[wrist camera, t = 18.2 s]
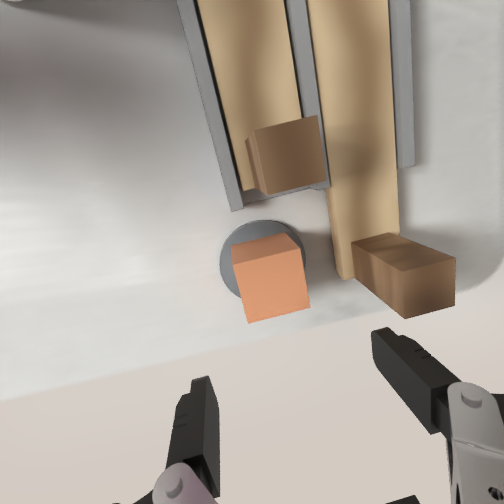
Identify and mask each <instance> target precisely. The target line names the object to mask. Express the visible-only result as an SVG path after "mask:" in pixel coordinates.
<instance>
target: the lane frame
mask: <svg viewBox="0 0 504 504" xmlns="http://www.w3.org/2000/svg"><path fill="white" fill-rule="evenodd" d="M176 1H177V5H178V9H179V13H180V17H181V21H182V24H183V28H184V32H185V36H186V40H187V44H188V47H189V51H190V55H191V59H192V63H193V67H194V70H195V74H196V78H197V82H198V86H199V89H200V93H201V97H202V101H203V105H204V109H205V112H206V116H207V120H208V124H209V128H210V132H211V135H212V139H213V143H214V147H215V151H216V155H217V158H218V162H219V166H220V170H221V174H222V178H223V181H224V185H225V189H226V193H227V197H228V201H229V204H230V208H231V212H233V211H237V210H241V209H244V208H243V205H244V204H248V203H252V202H256V201H260V200H264V199H268V198H272V197H276V196H280V195H284V194H288V193H292V192H296V191H300V190H303V189H307V188H312V189H316V190H320V189H324V188H328V187H330V182H329V174H328V167H327V159H326V152H325V144H324V137H323V129H322V122H321V114H320V107H319V99H318V92H317V84H316V77H315V69H314V62H313V54H312V47H311V39H310V32H309V24H308V17H307V9H306V2H305V0H283V1H284V8H285V14H286V21H287V27H288V34H289V40H290V46H291V53H292V59H293V66H294V72H295V79H296V85H297V91H298V98H299V104H300V111H301V117H302V118H306V117H310V116H314V115H318V123H319V130H320V137H321V145H322V152H323V159H324V166H325V174H326V181H323V182H319V183H315V184H311V185H307V186H303V187H299V188H295V189H291V190H287V191H283V192H279V193H275V194H271V195H266V194H265V193H263V192H261V191H260V190H258V189H256V188H253V189H249V190H245V191H243V190H242V188H241V184H240V180H239V176H238V172H237V168H236V164H235V159H234V155H233V151H232V147H231V143H230V139H229V135H228V130H227V126H226V122H225V118H224V114H223V110H222V106H221V101H220V97H219V93H218V89H217V85H216V81H215V77H214V72H213V68H212V64H211V60H210V56H209V52H208V48H207V43H206V39H205V35H204V31H203V27H202V23H201V19H200V14H199V10H198V6H197V2H196V0H176ZM388 16H389V35H390V54H391V73H392V92H393V111H394V131H395V150H396V168H407V167H411V166H415V147H414V114H413V81H412V47H411V14H410V0H388Z"/></svg>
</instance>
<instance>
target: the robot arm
mask: <svg viewBox="0 0 504 504" xmlns="http://www.w3.org/2000/svg"><path fill="white" fill-rule="evenodd" d="M371 341H372V353H373V359H374V362H375V364H376V367H377V368H378V370H379V371H380V372H381V374H382V375H383V376H384V377H385V379H386V380H387V381H388V382H389V384H390V385H391V386H392V387H393V389H394V390H395V391H396V392H397V394H398V395H399V396H400V397H401V398H402V400H403V401H404V402H405V403H406V405H407V406H408V407H409V408H410V410H411V411H412V412H413V413H414V415H415V416H416V417H417V418H418V420H419V421H420V422H421V423H422V425H423V426H424V427H425V428H426V430H427V431H428V432H429V433H430V435H431V434H435V433H438V432H441V433H442V434H443V435H444V436H445V438H446V450H447V460H448V470H449V481H450V491H451V504H504V394H490V393H489V392H488V391H487V390H485V389H483V388H482V387H479V386H477V385H475V384H472V383H467V382H462V381H461V380H459V379H458V378H457V377H456V376H455V375H454V374H453V373H451V372H450V371H449V370H448V369H447V368H446V367H445V366H443V365H442V364H441V363H440V362H439V361H438V360H436V359H435V358H434V357H432V356H431V354H429V353H428V352H427V351H426V350H424V348H423V347H422V346H420V345H419V344H418V343H417V342H416V341H415V340H413V339H411V338H408V337H406V336H404V335H400V336H398V335H396V334H395V333H394V332H393V331H392V330H391V329H390V328H388V327H386V328H382V329H378V330H374V331H372V332H371ZM219 435H220V433H219V407H218V402H217V398H216V395H215V393H214V390H213V387H212V384H211V381H210V378H209V376H204V377H201V378H197V379H193V380H192V382H191V390H190V393H188V394H185V395H182V397H181V399H180V401H179V402H178V404H177V406H176V411H175V419H174V423H173V429H172V434H171V441H170V446H169V452H168V458H167V464H166V468H165V471H164V472H163V473H162V474H161V475H160V476H159V478H158V479H157V481H156V483H155V486H154V489H153V490H152V491H151V492H150V493H148V494H147V495H146V496H144V497H143V498H141V499H140V500H138V501H137V502H135V503H134V504H218V503H217V502H216V501H215V499H214V498H217V497H220V436H219ZM114 504H119V503H114ZM386 504H420V503H419V501H418V499H417V498H416V496H415V495H412V496H409V497H406V498H403V499H399V500H396V501H393V502H390V503H386Z"/></svg>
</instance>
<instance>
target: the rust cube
mask: <svg viewBox="0 0 504 504" xmlns="http://www.w3.org/2000/svg"><path fill="white" fill-rule="evenodd" d="M231 255H232V265H233V269H234V272H235V276H236V280H237V284H238V287H239V291H240V295H241V299H242V302H243V306H244V310H245V314H246V317H247V321H248V323H252V322H256V321H260V320H264V319H268V318H272V317H276V316H280V315H284V314H287V313H291V312H295V311H299V310H303V309H307V308H310V303H309V297H308V291H307V285H306V279H305V274H304V268H303V262H302V256H301V250H300V248H299V247H298V246H297V244H296V243H295V242H294V241H293V240H292V239H291V238H290V237H289V236H288V235H287V234H286V233H285V232H283V233H279V234H275V235H271V236H267V237H263V238H259V239H255V240H251V241H247V242H243V243H239V244H235V245H231Z"/></svg>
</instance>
